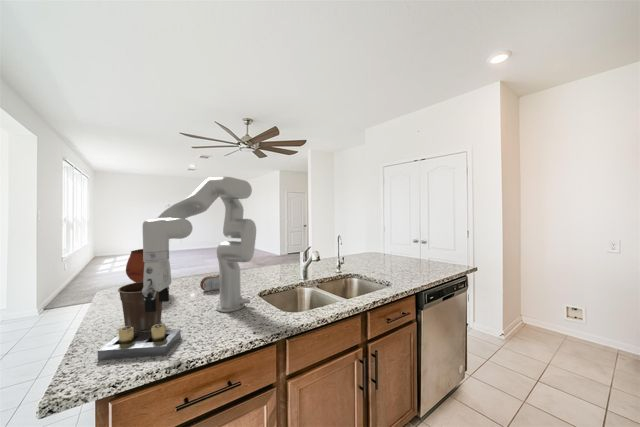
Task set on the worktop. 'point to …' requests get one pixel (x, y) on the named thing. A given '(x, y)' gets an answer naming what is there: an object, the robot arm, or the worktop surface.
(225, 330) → the worktop surface
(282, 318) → the worktop surface
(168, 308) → the worktop surface
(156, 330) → the brass cylinder
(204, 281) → the tin
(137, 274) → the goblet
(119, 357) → the jig
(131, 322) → the plant pot
